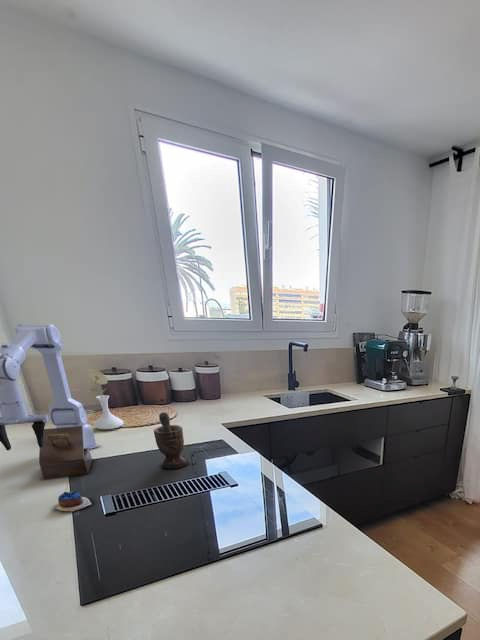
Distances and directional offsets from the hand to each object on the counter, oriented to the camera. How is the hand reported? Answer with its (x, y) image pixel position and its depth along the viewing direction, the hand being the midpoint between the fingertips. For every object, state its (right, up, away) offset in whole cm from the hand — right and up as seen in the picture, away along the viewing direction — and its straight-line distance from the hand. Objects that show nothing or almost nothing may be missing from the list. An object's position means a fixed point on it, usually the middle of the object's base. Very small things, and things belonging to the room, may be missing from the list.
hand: (25, 447), depth 116 cm
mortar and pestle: (+37, -5, +17) cm, 41 cm away
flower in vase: (-11, +13, +56) cm, 59 cm away
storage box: (+4, -6, +12) cm, 14 cm away
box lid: (+4, +1, +9) cm, 10 cm away
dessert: (+22, -17, -10) cm, 30 cm away
